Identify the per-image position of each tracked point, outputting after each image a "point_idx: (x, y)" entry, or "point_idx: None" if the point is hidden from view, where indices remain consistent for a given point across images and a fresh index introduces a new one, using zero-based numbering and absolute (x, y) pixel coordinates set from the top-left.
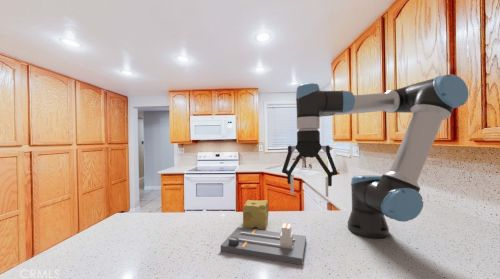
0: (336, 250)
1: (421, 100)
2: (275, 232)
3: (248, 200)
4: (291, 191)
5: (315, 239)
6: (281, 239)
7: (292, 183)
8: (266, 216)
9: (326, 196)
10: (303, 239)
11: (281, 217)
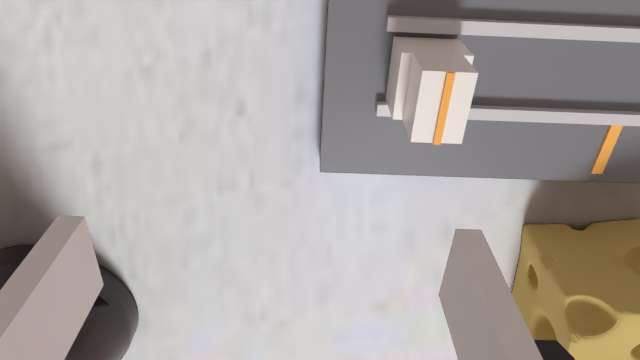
0: (173, 106)
1: None
2: (480, 173)
3: None
4: (482, 251)
5: (274, 183)
6: (459, 48)
7: (502, 334)
8: (533, 298)
9: (77, 217)
10: (331, 132)
11: (439, 345)
